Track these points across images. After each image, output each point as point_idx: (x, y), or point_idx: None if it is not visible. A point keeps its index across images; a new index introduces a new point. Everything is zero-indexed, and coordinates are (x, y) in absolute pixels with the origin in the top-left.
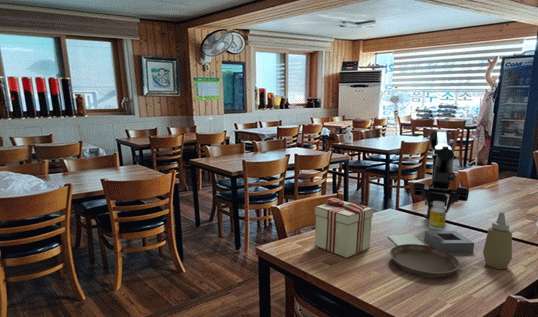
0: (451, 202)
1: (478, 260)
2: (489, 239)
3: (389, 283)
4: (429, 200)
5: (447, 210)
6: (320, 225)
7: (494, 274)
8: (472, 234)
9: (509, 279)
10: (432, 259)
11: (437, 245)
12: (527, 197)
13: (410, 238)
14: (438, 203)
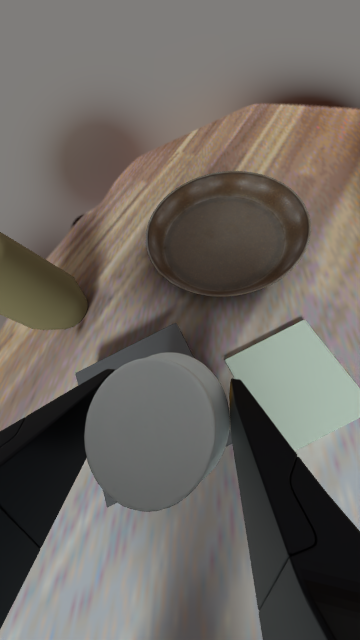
0: (9, 429)
1: (97, 322)
2: (35, 257)
3: (270, 154)
4: (264, 452)
5: (102, 371)
6: None
7: (88, 266)
8: (39, 600)
9: (70, 259)
10: (201, 270)
11: (187, 345)
12: None
13: (280, 406)
14: (155, 369)
